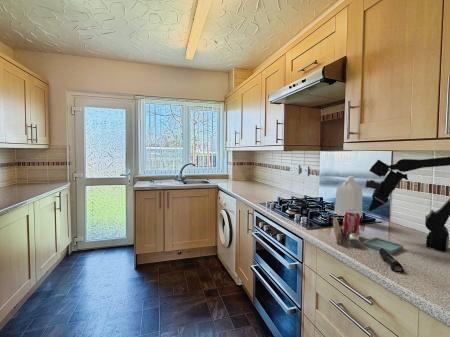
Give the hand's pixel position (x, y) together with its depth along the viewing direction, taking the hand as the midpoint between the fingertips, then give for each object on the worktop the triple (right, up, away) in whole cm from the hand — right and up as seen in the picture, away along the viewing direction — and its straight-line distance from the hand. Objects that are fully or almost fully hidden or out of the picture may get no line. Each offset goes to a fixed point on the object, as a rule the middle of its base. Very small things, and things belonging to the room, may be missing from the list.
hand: (369, 209), depth 121 cm
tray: (-3, -14, -14) cm, 20 cm away
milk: (+3, -11, +28) cm, 30 cm away
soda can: (-10, -13, -1) cm, 16 cm away
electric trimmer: (-10, -16, -29) cm, 34 cm away
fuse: (-14, -14, -11) cm, 23 cm away
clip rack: (-12, -13, 0) cm, 18 cm away
